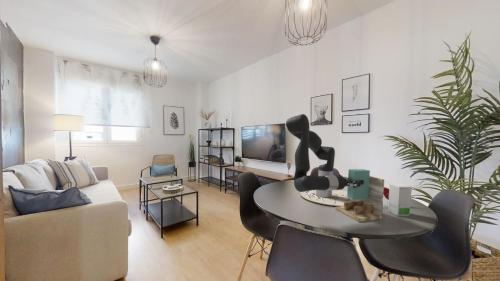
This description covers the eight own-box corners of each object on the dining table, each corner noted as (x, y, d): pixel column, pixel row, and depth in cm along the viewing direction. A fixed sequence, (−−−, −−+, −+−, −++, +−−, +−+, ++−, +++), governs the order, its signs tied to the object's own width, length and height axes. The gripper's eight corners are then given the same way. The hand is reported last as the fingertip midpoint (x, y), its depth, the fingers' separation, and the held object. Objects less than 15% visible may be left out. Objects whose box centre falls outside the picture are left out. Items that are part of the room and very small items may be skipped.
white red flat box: (378, 201, 130) (379, 186, 129) (413, 206, 123) (414, 189, 123) (379, 203, 127) (380, 187, 127) (414, 207, 121) (416, 191, 120)
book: (352, 200, 105) (354, 170, 104) (347, 197, 109) (348, 169, 108) (368, 198, 108) (369, 170, 107) (361, 196, 112) (363, 169, 111)
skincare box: (397, 216, 107) (399, 187, 107) (386, 211, 114) (388, 183, 113) (410, 215, 109) (412, 186, 108) (399, 210, 116) (401, 183, 115)
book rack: (358, 221, 99) (360, 181, 98) (335, 209, 115) (337, 173, 114) (381, 218, 104) (384, 179, 103) (356, 207, 119) (358, 173, 118)
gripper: (343, 178, 96) (371, 177, 101) (324, 172, 110) (350, 171, 115) (342, 194, 97) (370, 192, 102) (323, 186, 110) (349, 184, 115)
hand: (359, 181), depth 108 cm, fingers closed on book, 4 cm apart
